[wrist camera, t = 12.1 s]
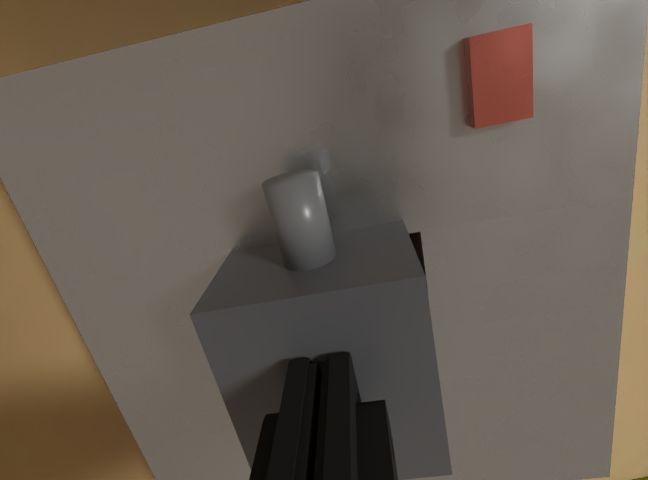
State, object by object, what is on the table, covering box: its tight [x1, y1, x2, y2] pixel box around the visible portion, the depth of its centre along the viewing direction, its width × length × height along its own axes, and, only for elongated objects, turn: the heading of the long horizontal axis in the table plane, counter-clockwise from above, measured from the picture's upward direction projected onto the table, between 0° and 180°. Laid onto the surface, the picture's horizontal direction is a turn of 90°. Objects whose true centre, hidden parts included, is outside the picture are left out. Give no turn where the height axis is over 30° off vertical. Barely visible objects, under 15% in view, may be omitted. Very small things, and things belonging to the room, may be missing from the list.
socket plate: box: [0, 0, 648, 480], centre depth 16 cm, size 20×20×4 cm
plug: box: [190, 169, 452, 480], centre depth 14 cm, size 9×6×7 cm, turn 12°
